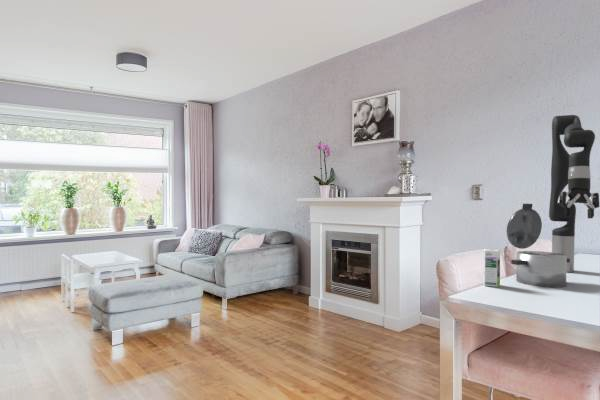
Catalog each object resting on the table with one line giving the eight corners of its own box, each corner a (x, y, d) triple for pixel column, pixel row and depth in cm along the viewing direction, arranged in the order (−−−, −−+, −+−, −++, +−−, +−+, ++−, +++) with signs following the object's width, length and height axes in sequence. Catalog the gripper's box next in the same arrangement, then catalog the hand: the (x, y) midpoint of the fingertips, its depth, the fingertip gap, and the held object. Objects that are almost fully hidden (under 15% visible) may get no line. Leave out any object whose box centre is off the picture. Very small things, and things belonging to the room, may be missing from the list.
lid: (506, 249, 176) (504, 248, 177) (538, 248, 181) (536, 247, 182) (512, 203, 173) (510, 203, 174) (545, 204, 178) (542, 203, 179)
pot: (497, 279, 174) (497, 251, 174) (547, 276, 182) (548, 250, 182) (532, 289, 157) (532, 258, 157) (586, 285, 165) (586, 256, 165)
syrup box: (483, 286, 161) (484, 249, 161) (483, 283, 167) (483, 248, 167) (499, 287, 159) (500, 250, 159) (498, 284, 165) (499, 249, 164)
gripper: (591, 180, 168) (591, 219, 167) (555, 178, 170) (555, 217, 168) (603, 177, 161) (603, 218, 160) (566, 176, 162) (566, 216, 161)
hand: (579, 217), depth 164 cm, fingers open, 8 cm apart
